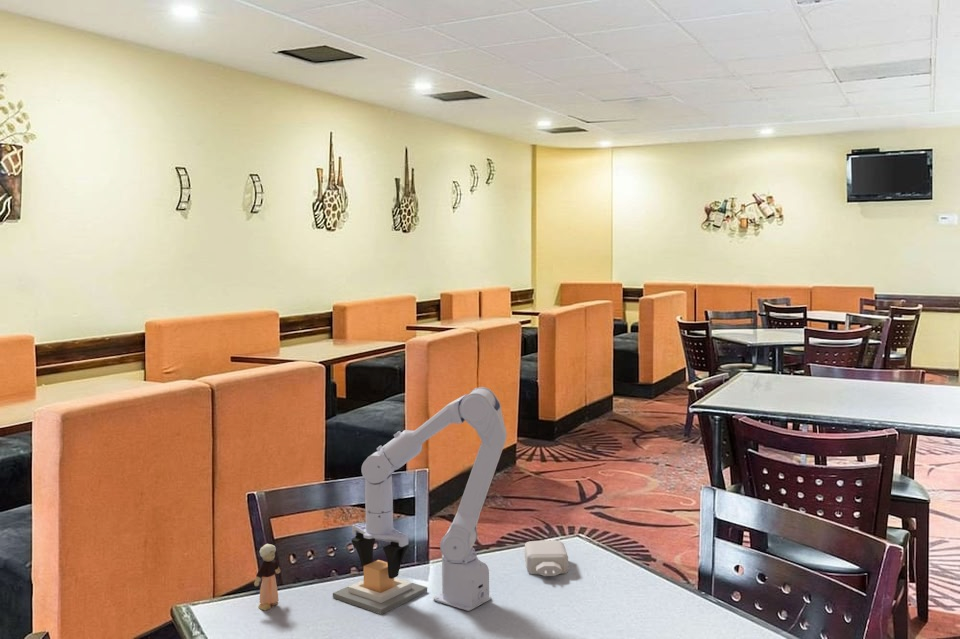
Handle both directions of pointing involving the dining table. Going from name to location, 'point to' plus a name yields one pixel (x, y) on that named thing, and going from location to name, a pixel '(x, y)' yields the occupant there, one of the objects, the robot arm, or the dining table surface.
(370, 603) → the socket plate
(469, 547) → the robot arm
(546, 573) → the charger
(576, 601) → the dining table surface
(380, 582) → the block
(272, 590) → the grandmother figurine
